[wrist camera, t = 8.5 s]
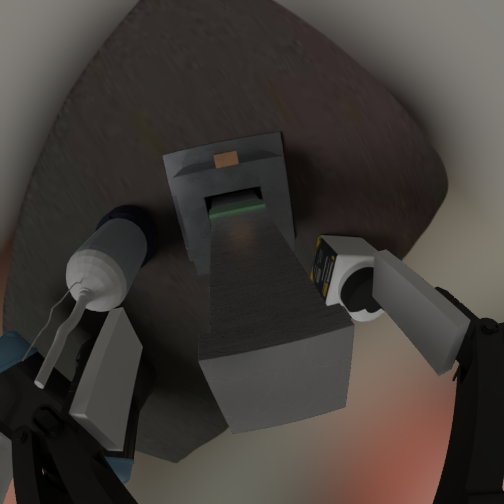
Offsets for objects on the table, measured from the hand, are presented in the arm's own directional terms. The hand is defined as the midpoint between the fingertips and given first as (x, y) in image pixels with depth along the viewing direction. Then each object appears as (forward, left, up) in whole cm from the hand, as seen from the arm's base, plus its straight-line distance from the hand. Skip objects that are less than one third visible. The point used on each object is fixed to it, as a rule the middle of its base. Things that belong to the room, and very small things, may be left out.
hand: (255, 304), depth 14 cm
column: (0, 0, -16) cm, 16 cm away
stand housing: (0, 0, -23) cm, 23 cm away
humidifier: (-14, -2, -23) cm, 27 cm away
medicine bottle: (+13, -11, -23) cm, 29 cm away
